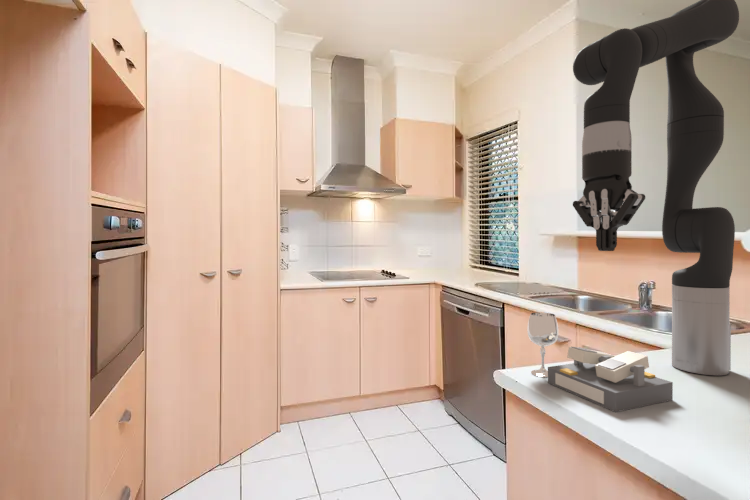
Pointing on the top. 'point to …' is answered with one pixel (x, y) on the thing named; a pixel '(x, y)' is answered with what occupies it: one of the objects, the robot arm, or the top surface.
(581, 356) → the block
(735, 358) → the top surface
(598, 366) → the rocker far
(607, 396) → the switch unit
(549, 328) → the wineglass
